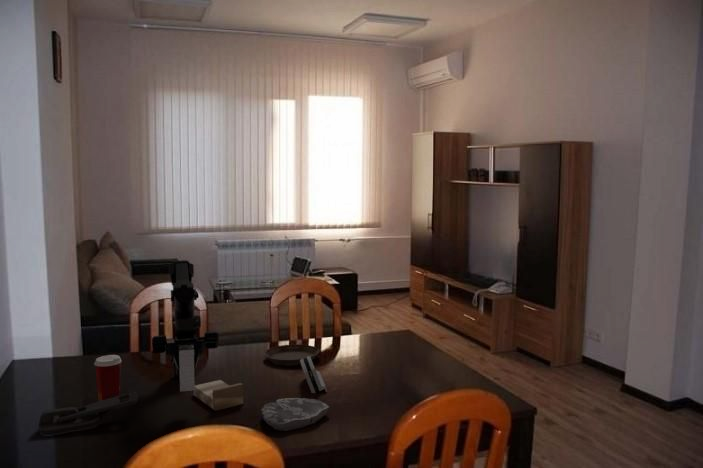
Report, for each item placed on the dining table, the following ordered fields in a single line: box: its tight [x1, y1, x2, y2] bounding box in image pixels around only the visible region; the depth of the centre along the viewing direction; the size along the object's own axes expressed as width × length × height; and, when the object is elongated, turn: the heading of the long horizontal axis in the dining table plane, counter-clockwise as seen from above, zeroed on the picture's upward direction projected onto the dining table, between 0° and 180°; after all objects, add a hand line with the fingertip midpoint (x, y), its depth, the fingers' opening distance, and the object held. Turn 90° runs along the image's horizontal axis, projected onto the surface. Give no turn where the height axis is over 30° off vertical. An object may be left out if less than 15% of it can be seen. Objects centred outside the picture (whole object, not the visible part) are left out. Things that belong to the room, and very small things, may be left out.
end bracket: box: [179, 345, 196, 393], centre depth 166 cm, size 5×4×12 cm
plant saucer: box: [264, 343, 320, 367], centre depth 219 cm, size 21×21×3 cm
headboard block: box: [193, 379, 244, 411], centre depth 177 cm, size 16×9×6 cm, turn 38°
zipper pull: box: [38, 391, 139, 436], centre depth 159 cm, size 9×7×25 cm
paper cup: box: [93, 354, 122, 403], centre depth 174 cm, size 8×8×14 cm
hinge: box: [300, 356, 328, 394], centre depth 190 cm, size 17×5×10 cm, turn 10°
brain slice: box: [260, 397, 330, 432], centre depth 163 cm, size 20×17×3 cm
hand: (186, 368), depth 165 cm, fingers closed on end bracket, 4 cm apart
